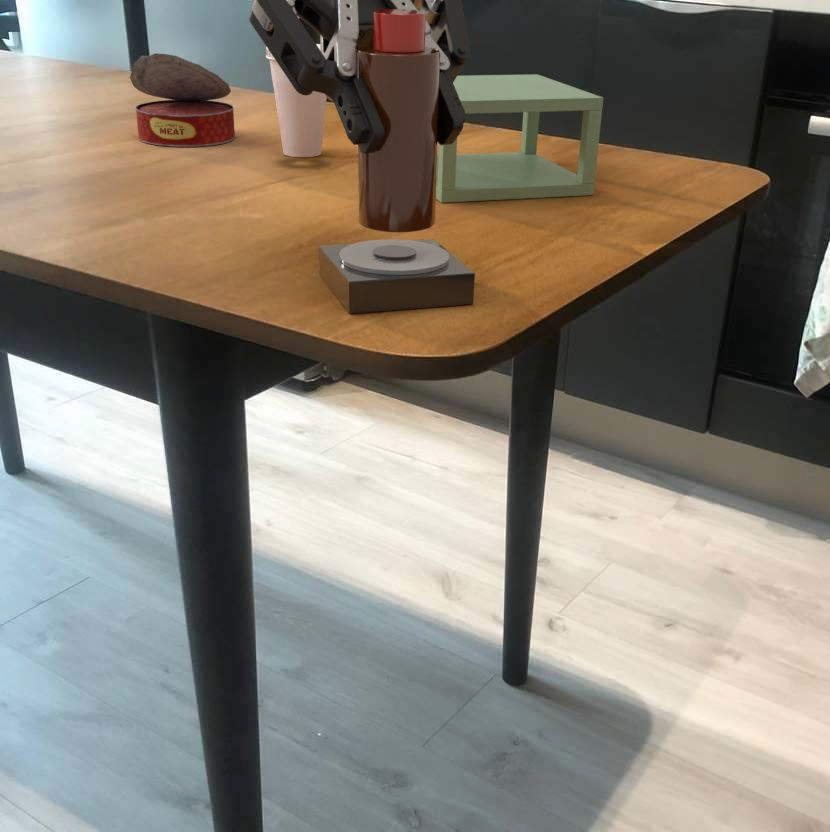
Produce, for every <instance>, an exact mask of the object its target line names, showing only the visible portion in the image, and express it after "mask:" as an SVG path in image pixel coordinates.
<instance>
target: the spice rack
mask: <svg viewBox="0 0 830 832" xmlns="http://www.w3.org/2000/svg"><path fill="white" fill-rule="evenodd" d="M453 84H454V86H455V89H456V91H457V94H458V96H459V99H460V101H461V103H462V105H463V108H464V110H465V113H466V115H467V114H468V115H472V114H507V113H510V114H511V113H523V114H522V125H521V127H522V128H521V130H522V131H521V143H520V151H515V152H514V151H513V152H511V151H510V152H489V153H488V152H487V153H486V152H485V153H484V152H483V153H460V154H459V153H457V152H458V151H457V149H458V137H457V138H456V140H455V141H454V143H453V144H448V145H440V144H439V143H438V154H437V177H436V201H438V202H440V203H441V204H443V203H444V204H445V203H465V202H466V203H467V202H482V201H483V202H485V201H503V200H524V199H525V200H526V199H543V198H544V199H545V198H562V197H563V198H564V197H581V196H582V197H583V196H584V197H585V196H594V191H595V183H596V173H597V171H596V170H597V165H598V164H597V162H598V155H599V143H600V134H601V125H602V115H603V107H604V105H603V104H604V97H603V96H600V95H597V94H595V93H591V92H589V91H586V90H583V89H580V88H577V87H575V86H572V85H569V84H566V83H564V82H560V81H557V80H554V79H551V78H548V77H546V76H544V75H540V74H537V73H536V74H535V73H533V74H481V75H475V74H473V75H458V76H457V77H456V79H455V80H454V82H453ZM543 112H544V113H546V112H547V113H549V112H551V113H552V112H582V120H581V129H580V130H581V132H580V142H579V151H578V162H577V171H576V172H577V173H575V172H572V171H571V170H569V169H567V168H565V167H563V166H561V165H559V164H558V163H556V162H553V161H551V160H549V159H547V158H545V157H543V156H541V155H539V154H537V149H538V138H539V124H540V113H543Z"/></svg>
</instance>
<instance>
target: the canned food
mask: <svg viewBox="0 0 830 832" xmlns="http://www.w3.org/2000/svg"><path fill="white" fill-rule="evenodd" d="M129 79H130V82H131V84H132V86H133V87H134V88H135V89H136V90H138V91H139V92H140V93H143V94H145V95H148V96H152V97H155V98H160V99H164V100H154V101H148V102H143V103H139V104H138V105H136V106H135V115H136V125H137V135H138V136H137V137H138V140H139V141H140V142H141V143H144V144H147V145H153V146H161V147H171V148H172V147H173V148H197V147H198V148H199V147H210V146H211V147H212V146H217V145H223V144H227V143H230V142H232V141H235V138H236V135H235V134H236V132H235V131H236V130H235V115H234V106H233V105H232V104H230V103H227V102H224V101H223V102H222V101H218V100H219V99H223V98H226V97H228V96H229V95H230V93H231V92H232V90H231V88H230V84H229V83H228V82H227V81H225V80H224V79H222V78H221V76H219V74H217V73H215V72H212V71H211V70H208V69H207V68H205V67H204V66H202V65H201V64H198V63H195V62H192V61H190V60H186V59H185V58H182V57H180V56H178V55H174V54H168V53H152V54H150V55H141V56H140V57H139V58H138V59H137V60H136V61H135V62H134V63H133V65H132V67H131V72H130V76H129ZM216 100H217V101H216Z"/></svg>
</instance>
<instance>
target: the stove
mask: <svg viewBox="0 0 830 832" xmlns="http://www.w3.org/2000/svg"><path fill="white" fill-rule="evenodd" d="M318 273H319V277H320V278H321V279H322V281H323V282H324V283H325V285H326V286H327V287H328V288H329V289H330V291H331V293H333V295H334V296H335V297H336V299H337V300H338V301H339V303H340V304H341V305H342V306H343V308H344V309H345V310H346V311H347V313H348V314H350V315H353V314H364V313H377V312H391V311H404V310H414V309H415V310H416V309H428V308H441V307H454V306H466V305H473V304H474V300H475V299H474V297H475V280H476V279H475V277H476V273H475V272H474V271H473V270H472V269H471V268H469V267H468V266H467V265H466V264H465V263H463V262H462V261H461V260H460V259H458V258H457V257H456V255H454V254H453V253H451V251H449V250H448V249H447V248H446V247H444V246H443V245H442V244H441V243H440V242H438V241H437V240H436V239H435V238H427V239H410V240H408V239H392V238H391V239H373V240H364V241H359V242H354V243H344V244H327V245H319V246H318Z"/></svg>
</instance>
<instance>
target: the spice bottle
mask: <svg viewBox="0 0 830 832" xmlns="http://www.w3.org/2000/svg"><path fill="white" fill-rule="evenodd" d="M425 22H426V13H425V12H423V11H420V10H418V11H417V10H404V9H385V10H376V11H374V12H373V46H365V47H361V48H359V49H358V53H357V78H364V80H365V82H366V84H367V87H368V89H369V92H370V94H371V97H372V99H373V102H374V104H375V107H376V109H377V112H378V114H379V116H380V119H381V121H382V124H383V126H384V138H383V140H382V141H381V143H380V145H379V146H378V148H377V150H376V151H375V152H374V153H365V154H363V153H361V151H360V149H359V147H358V146H357V163H358V164H357V165H358V166H357V168H358V169H357V173H358V175H357V177H358V178H357V179H358V181H357V182H358V185H357V189H358V193H357V194H358V196H357V197H358V223H359V224H360V226H362V227H364V228H366V229H369V230H373V231H378V232H384V233H412V232H413V233H414V232H421V231H425V230H428V229H430V228H432V227H434V226H435V224H436V209H437V208H436V207H437V206H436V205H437V199H436V177H437V155H438V145H439V143H438V110H439V77H440V51H439V50H438V49H435V48H431V47H425Z"/></svg>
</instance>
